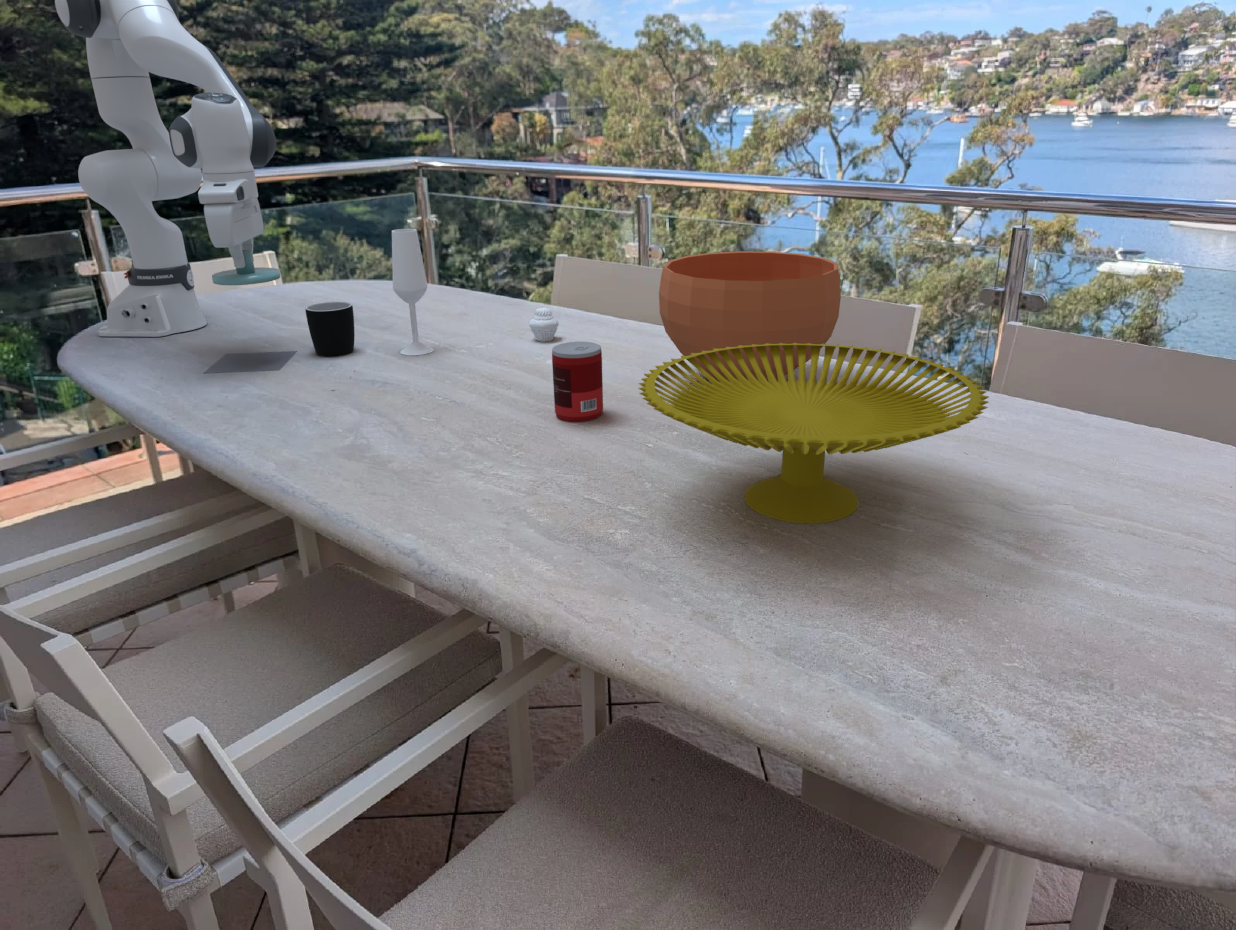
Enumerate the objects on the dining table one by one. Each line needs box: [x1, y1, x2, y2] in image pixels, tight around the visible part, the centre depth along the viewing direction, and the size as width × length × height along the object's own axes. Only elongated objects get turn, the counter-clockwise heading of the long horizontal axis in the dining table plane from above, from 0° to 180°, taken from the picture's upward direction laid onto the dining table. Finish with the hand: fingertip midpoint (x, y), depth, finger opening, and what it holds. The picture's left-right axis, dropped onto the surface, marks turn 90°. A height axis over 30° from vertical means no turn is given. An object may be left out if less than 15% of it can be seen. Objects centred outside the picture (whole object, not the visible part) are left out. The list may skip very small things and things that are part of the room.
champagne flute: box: [391, 228, 434, 356], centre depth 181 cm, size 7×7×24 cm
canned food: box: [551, 341, 604, 423], centre depth 144 cm, size 8×8×11 cm
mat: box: [203, 350, 298, 374], centre depth 177 cm, size 14×14×1 cm
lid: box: [211, 250, 281, 286], centre depth 171 cm, size 12×12×5 cm
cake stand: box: [638, 343, 990, 524], centre depth 111 cm, size 40×40×15 cm
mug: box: [304, 300, 356, 358], centre depth 182 cm, size 12×9×10 cm
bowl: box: [658, 250, 842, 383], centre depth 156 cm, size 30×30×20 cm
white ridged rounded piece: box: [528, 306, 559, 343], centre depth 191 cm, size 6×6×7 cm
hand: (244, 265), depth 171 cm, fingers closed on lid, 3 cm apart
